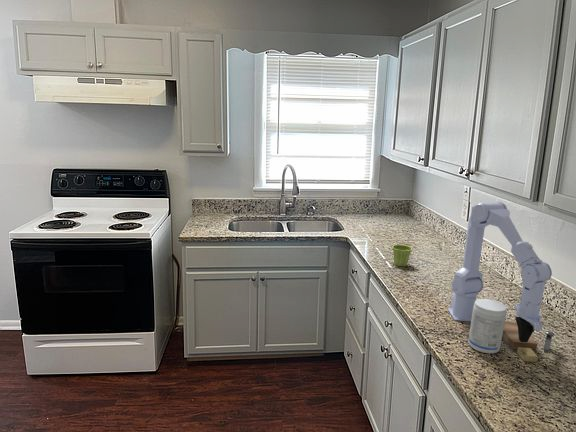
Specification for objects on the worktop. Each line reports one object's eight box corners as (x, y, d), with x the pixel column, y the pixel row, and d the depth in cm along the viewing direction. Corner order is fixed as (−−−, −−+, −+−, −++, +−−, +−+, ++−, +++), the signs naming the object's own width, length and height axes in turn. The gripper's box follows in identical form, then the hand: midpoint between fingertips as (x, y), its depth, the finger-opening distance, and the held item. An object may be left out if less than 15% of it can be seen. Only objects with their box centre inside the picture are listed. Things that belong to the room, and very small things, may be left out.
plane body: (493, 328, 158) (495, 320, 157) (515, 330, 158) (517, 322, 157) (511, 350, 144) (513, 341, 143) (535, 352, 143) (537, 343, 142)
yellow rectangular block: (525, 355, 136) (523, 362, 137) (538, 356, 136) (536, 363, 136) (517, 347, 141) (516, 354, 141) (530, 348, 141) (529, 355, 141)
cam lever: (539, 361, 138) (542, 345, 136) (542, 345, 148) (545, 330, 146) (548, 364, 136) (551, 347, 135) (551, 348, 146) (554, 332, 145)
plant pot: (402, 269, 214) (405, 251, 212) (386, 263, 220) (388, 246, 218) (414, 265, 220) (416, 248, 218) (397, 260, 226) (399, 243, 224)
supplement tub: (474, 336, 151) (481, 295, 148) (504, 347, 145) (511, 305, 142) (462, 346, 144) (469, 303, 141) (493, 358, 138) (501, 313, 135)
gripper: (556, 311, 132) (547, 354, 135) (533, 292, 146) (525, 331, 149) (531, 310, 132) (523, 352, 135) (511, 290, 146) (504, 329, 149)
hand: (523, 340), depth 142 cm, fingers closed
